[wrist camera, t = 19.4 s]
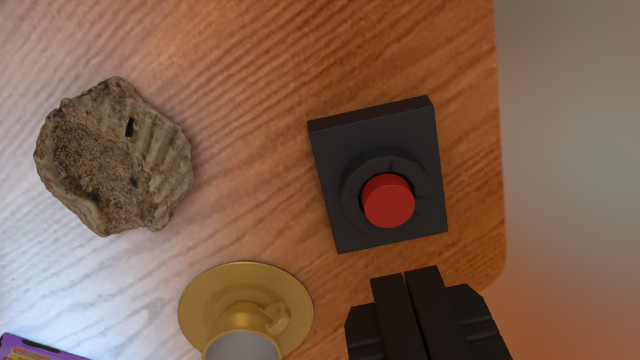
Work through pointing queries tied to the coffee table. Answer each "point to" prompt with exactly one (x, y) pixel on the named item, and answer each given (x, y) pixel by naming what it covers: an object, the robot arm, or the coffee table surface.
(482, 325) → the robot arm
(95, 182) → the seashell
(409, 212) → the button
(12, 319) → the coffee table surface
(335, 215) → the button housing
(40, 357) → the candy box
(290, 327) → the cup
